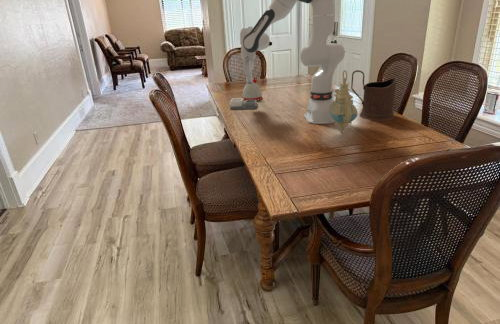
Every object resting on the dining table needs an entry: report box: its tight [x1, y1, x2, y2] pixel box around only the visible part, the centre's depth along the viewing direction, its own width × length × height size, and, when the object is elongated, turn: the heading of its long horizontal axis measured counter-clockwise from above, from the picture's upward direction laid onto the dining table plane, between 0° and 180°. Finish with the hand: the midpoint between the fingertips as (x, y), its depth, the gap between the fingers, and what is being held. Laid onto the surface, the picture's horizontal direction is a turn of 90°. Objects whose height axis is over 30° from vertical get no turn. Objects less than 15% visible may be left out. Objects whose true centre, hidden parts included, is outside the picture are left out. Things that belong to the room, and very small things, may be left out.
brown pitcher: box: [350, 69, 397, 122], centre depth 187 cm, size 18×24×25 cm
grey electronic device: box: [229, 97, 258, 110], centre depth 222 cm, size 12×16×5 cm
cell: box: [245, 70, 254, 84], centre depth 214 cm, size 4×4×9 cm
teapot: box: [329, 69, 359, 134], centre depth 163 cm, size 24×12×30 cm, turn 2°
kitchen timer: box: [241, 77, 263, 101], centre depth 240 cm, size 14×14×15 cm
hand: (249, 78), depth 214 cm, fingers closed on cell, 4 cm apart
